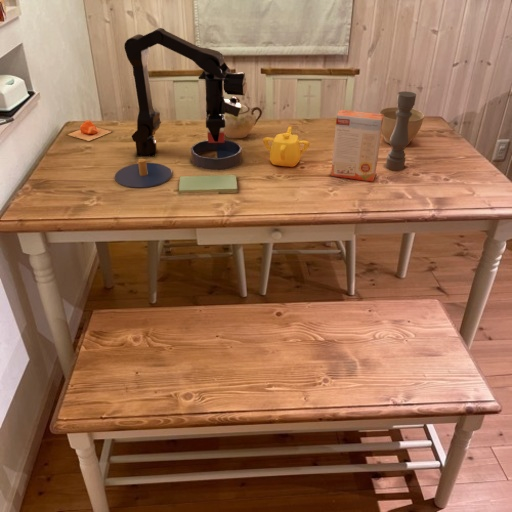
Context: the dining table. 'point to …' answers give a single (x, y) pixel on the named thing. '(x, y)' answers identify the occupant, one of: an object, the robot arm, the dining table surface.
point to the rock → (89, 131)
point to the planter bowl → (391, 119)
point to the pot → (226, 155)
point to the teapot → (285, 149)
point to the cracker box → (356, 145)
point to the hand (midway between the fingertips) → (216, 139)
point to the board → (208, 184)
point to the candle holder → (400, 131)
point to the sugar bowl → (240, 122)
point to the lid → (143, 175)
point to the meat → (220, 139)
